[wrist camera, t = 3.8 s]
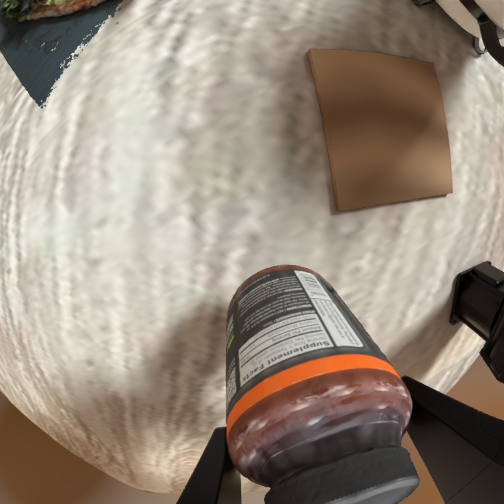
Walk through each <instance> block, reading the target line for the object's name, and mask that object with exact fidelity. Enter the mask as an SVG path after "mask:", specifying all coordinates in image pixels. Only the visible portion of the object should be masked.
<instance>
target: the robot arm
mask: <svg viewBox="0 0 504 504" xmlns="http://www.w3.org/2000/svg"><path fill="white" fill-rule="evenodd" d="M460 321H462V322H463V323H464V324H466V325H467V326H468V327H469V328H471V329H472V330H473V331H474V332H475V333H477V334H478V335H479V336H480V337H481V338H482V339H484V340H485V341H486V343H485V344H484V346H483V348H482V349H481V351H480V352H479V353H480V355H481V356H482V357H483V360H484V361H485V362H486V364H487V365H488V367H489V368H490V370H491V371H492V373H493V374H494V376H495V377H496V379H497V380H498V381H499V382H501V383H504V272H503V271H501V270H499V269H497V268H495V267H493V266H491V262H490V261H486V262H483V263H481V264H479V265H477V266H475V267H473V268H471V269H468V270H466V271H464V272H462V273H460V274H459V275H458V277H457V283H456V290H455V296H454V302H453V308H452V313H451V318H450V324H451V325H455V324H457V323H458V322H460ZM400 378H401V380H402V381H403V382H404V384H405V386H406V387H407V389H408V391H409V393H410V396H411V400H412V412H411V418H410V422H409V425H408V428H407V432H408V434H409V436H410V438H411V440H412V441H413V443H414V445H415V447H416V449H417V450H418V452H419V454H420V456H421V458H422V460H423V462H424V463H425V465H426V467H427V469H428V471H429V473H430V475H431V476H432V478H433V481H434V482H435V484H436V486H437V488H438V490H439V492H440V494H441V496H442V498H443V500H444V502H445V504H504V420H501V419H497V418H495V417H493V416H490V415H488V414H485V413H483V412H481V411H479V412H478V410H476V409H474V408H472V407H470V406H468V405H466V404H464V403H461V402H459V401H457V400H455V399H453V398H450V397H449V396H447V395H445V394H443V393H441V392H439V391H437V390H434V389H432V388H430V387H428V386H426V385H424V384H422V383H420V382H418V381H416V380H414V379H412V378H410V377H409V376H402V377H400ZM176 504H241V477H240V472H239V471H238V470H237V469H236V468H235V466H234V465H233V463H232V461H231V458H230V455H229V451H228V445H227V427H218V428H216V429H215V430H214V432H213V434H212V436H211V438H210V440H209V442H208V444H207V446H206V448H205V450H204V452H203V454H202V456H201V458H200V460H199V462H198V464H197V466H196V467H195V469H194V471H193V473H192V475H191V477H190V479H189V481H188V483H187V484H186V486H185V488H184V490H183V492H182V494H181V496H180V498H179V499H178V501H177V503H176Z"/></svg>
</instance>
